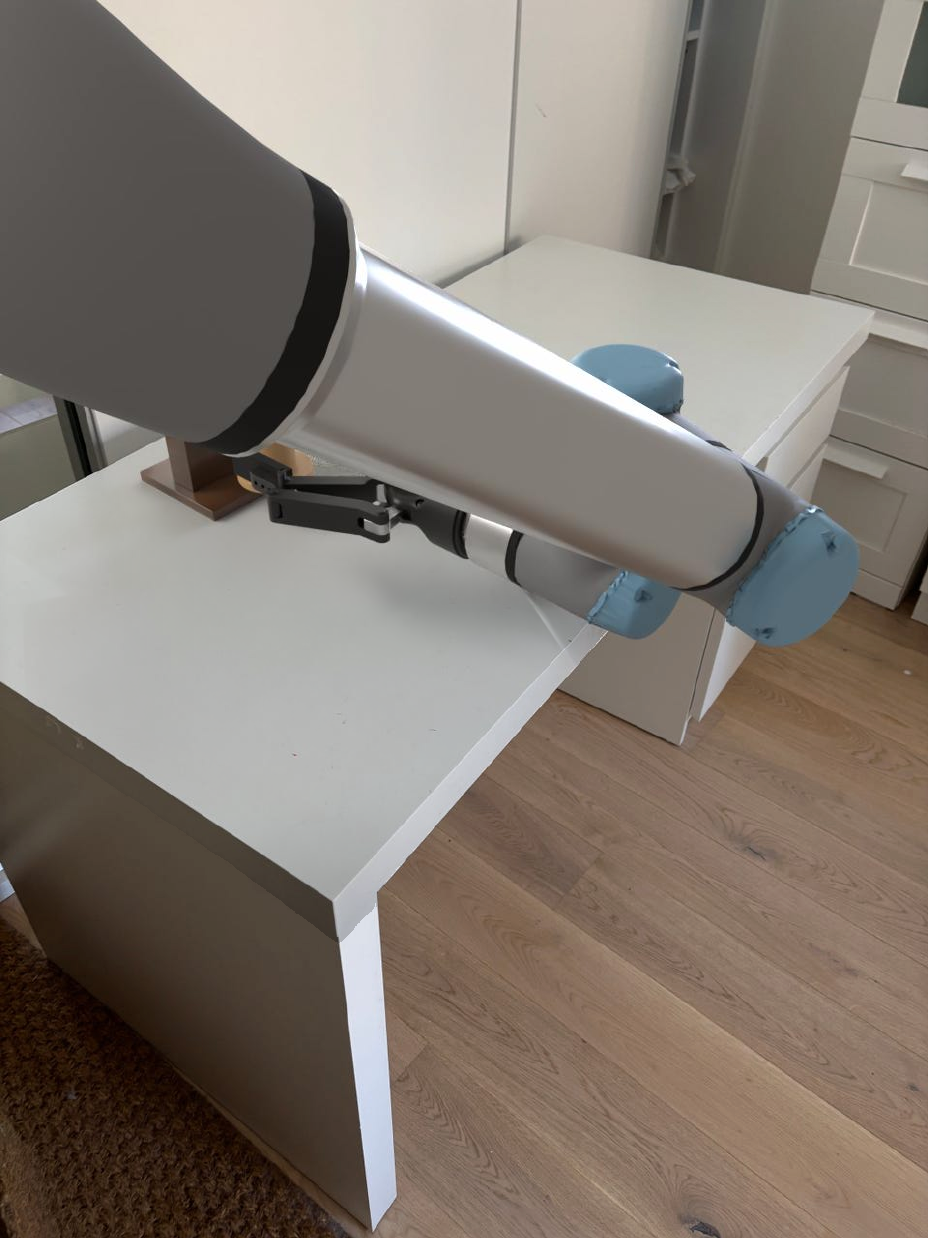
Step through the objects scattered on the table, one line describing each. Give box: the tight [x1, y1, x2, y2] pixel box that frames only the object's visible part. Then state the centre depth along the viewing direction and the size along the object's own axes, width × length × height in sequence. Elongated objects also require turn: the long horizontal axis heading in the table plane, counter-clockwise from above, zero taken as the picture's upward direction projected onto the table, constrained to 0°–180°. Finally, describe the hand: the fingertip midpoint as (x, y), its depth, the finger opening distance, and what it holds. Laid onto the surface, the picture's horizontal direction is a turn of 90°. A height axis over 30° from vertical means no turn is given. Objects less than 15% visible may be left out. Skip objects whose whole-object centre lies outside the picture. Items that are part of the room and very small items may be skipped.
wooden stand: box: [139, 435, 265, 522], centre depth 89 cm, size 17×11×17 cm, turn 51°
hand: (296, 426), depth 84 cm, fingers open, 13 cm apart
